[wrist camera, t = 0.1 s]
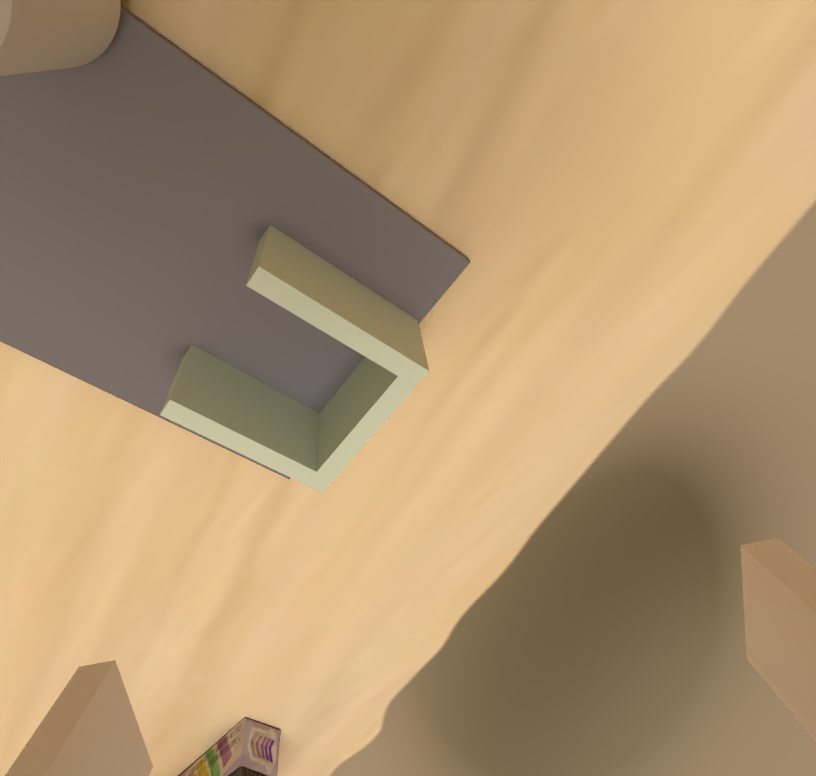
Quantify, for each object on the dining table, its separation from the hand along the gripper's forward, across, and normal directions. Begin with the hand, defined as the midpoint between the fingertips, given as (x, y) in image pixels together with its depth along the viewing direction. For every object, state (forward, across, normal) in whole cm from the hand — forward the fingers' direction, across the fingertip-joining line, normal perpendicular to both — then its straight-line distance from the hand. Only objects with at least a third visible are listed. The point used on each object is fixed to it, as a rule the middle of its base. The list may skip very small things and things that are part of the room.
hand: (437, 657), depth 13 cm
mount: (+26, -12, +9) cm, 30 cm away
